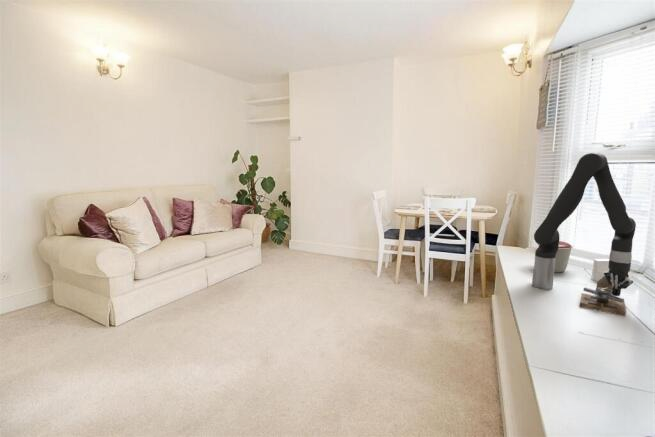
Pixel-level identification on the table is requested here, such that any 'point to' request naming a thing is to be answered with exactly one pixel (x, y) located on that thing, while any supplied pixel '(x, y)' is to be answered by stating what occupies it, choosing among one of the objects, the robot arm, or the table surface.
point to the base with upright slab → (599, 269)
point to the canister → (562, 256)
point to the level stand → (603, 305)
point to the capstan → (603, 295)
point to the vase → (604, 283)
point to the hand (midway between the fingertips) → (615, 295)
